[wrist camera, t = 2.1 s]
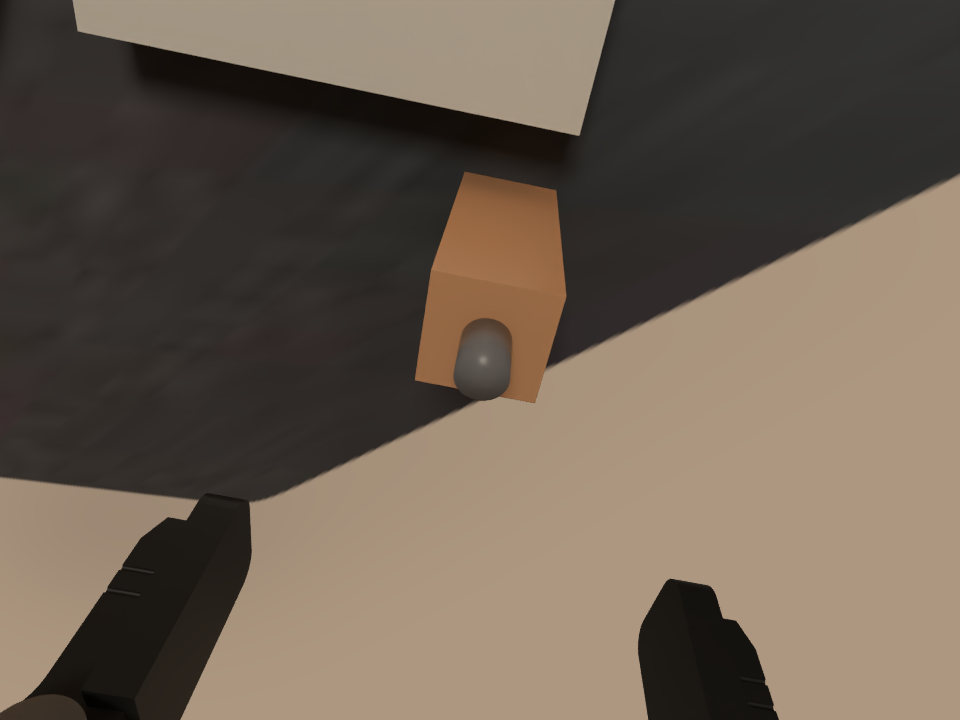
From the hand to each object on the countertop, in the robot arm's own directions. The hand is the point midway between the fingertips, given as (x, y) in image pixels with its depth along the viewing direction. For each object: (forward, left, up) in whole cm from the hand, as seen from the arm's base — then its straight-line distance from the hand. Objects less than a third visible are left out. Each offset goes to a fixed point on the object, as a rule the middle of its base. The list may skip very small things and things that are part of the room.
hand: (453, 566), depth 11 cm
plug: (0, 0, -18) cm, 18 cm away
